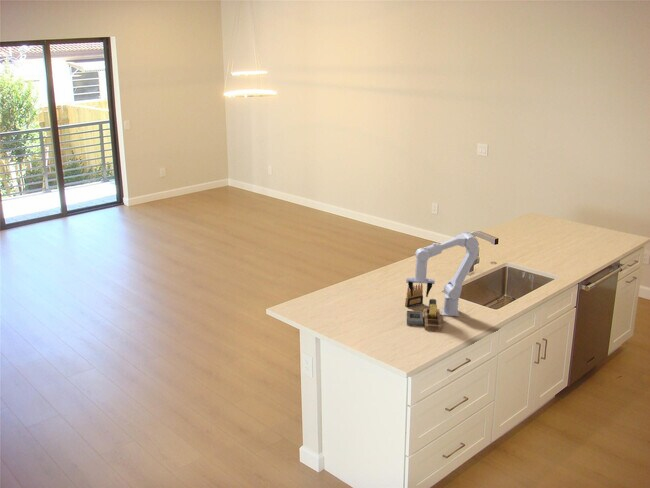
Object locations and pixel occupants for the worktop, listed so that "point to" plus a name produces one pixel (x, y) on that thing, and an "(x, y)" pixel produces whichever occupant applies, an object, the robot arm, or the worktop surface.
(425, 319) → the walnut rack
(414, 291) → the ammunition clip
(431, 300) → the black round bar
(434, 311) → the brass round bar
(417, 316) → the steel socket
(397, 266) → the worktop surface
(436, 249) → the robot arm
